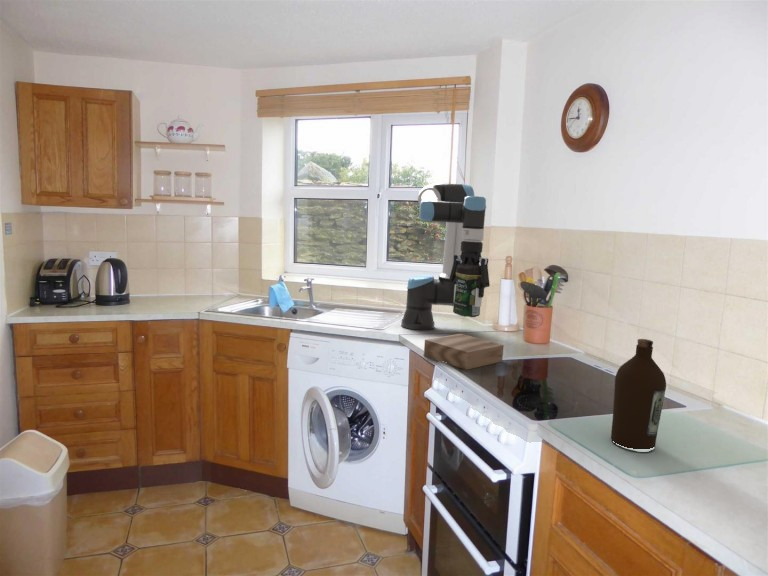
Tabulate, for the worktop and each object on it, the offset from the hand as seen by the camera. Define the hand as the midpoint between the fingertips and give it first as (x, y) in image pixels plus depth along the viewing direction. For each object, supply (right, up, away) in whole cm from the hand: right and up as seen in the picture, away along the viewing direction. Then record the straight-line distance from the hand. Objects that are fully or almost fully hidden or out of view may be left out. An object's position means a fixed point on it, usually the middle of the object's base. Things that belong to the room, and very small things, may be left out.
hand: (467, 304), depth 189 cm
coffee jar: (0, -4, +1) cm, 4 cm away
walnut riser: (-1, -20, +3) cm, 20 cm away
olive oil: (+29, -31, -65) cm, 77 cm away
